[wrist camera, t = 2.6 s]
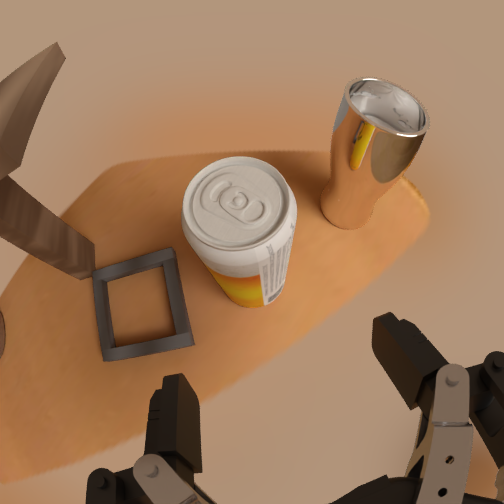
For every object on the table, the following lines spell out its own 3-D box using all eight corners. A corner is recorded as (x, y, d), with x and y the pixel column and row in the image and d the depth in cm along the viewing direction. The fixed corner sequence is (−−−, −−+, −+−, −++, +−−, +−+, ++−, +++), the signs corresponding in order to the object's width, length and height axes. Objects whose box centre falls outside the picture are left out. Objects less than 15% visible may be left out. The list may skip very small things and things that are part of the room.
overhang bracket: (90, 364, 25) (-97, 335, 4) (79, 235, 31) (-45, 126, 9) (194, 345, 25) (-22, 296, 4) (167, 204, 31) (69, 34, 10)
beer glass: (337, 169, 31) (367, 66, 17) (385, 204, 29) (442, 111, 15) (303, 207, 30) (322, 97, 16) (354, 246, 28) (415, 155, 14)
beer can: (247, 238, 29) (227, 135, 15) (296, 271, 27) (322, 186, 13) (210, 284, 27) (151, 213, 13) (259, 321, 26) (247, 285, 12)
